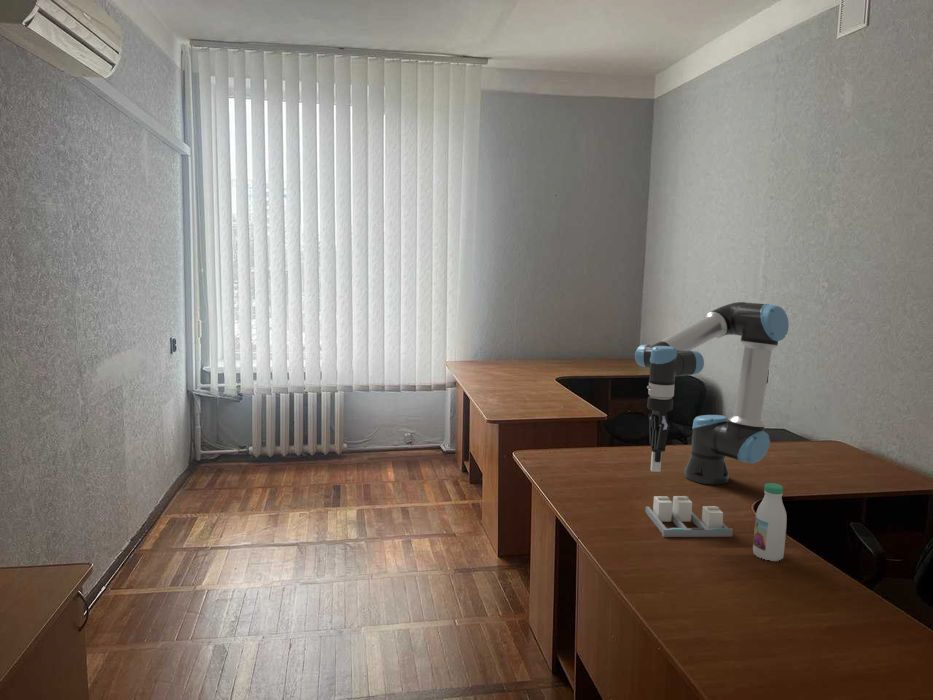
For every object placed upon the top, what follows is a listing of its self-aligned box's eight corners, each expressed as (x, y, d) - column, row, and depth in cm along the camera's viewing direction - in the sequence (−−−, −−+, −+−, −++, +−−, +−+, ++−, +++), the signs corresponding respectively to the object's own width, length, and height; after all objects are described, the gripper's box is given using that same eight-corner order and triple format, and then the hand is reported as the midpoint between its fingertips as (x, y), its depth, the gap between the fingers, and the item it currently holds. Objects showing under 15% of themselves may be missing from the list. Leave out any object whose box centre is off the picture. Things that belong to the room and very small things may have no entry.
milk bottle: (781, 551, 184) (788, 482, 181) (785, 564, 177) (791, 492, 174) (751, 547, 187) (757, 479, 184) (753, 559, 180) (759, 488, 177)
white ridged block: (684, 514, 205) (686, 494, 204) (690, 521, 200) (692, 500, 199) (672, 514, 205) (673, 494, 204) (677, 521, 200) (679, 500, 199)
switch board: (706, 516, 208) (707, 504, 208) (731, 541, 191) (732, 528, 190) (643, 516, 208) (644, 505, 207) (662, 541, 190) (663, 529, 189)
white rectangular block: (714, 525, 198) (716, 503, 197) (721, 532, 193) (723, 510, 192) (701, 525, 198) (702, 504, 197) (708, 532, 193) (709, 510, 192)
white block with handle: (665, 514, 205) (666, 494, 204) (671, 521, 200) (672, 500, 199) (652, 515, 205) (654, 494, 204) (658, 521, 200) (659, 500, 199)
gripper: (642, 392, 211) (637, 464, 214) (655, 401, 198) (650, 477, 201) (665, 392, 211) (660, 464, 215) (680, 401, 198) (674, 478, 202)
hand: (655, 470), depth 208 cm, fingers closed
